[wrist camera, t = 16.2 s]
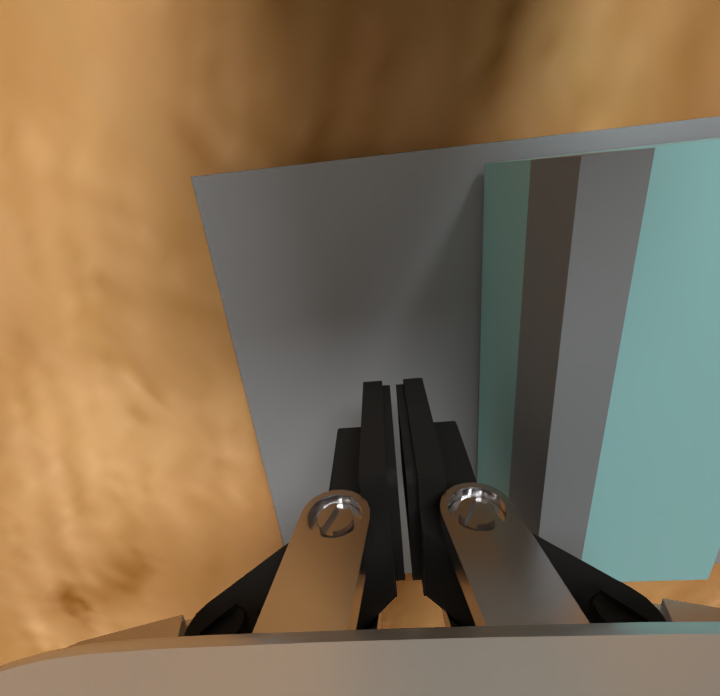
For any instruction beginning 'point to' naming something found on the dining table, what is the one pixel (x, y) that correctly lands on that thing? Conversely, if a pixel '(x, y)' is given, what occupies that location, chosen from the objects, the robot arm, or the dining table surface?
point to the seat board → (364, 290)
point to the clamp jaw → (606, 354)
